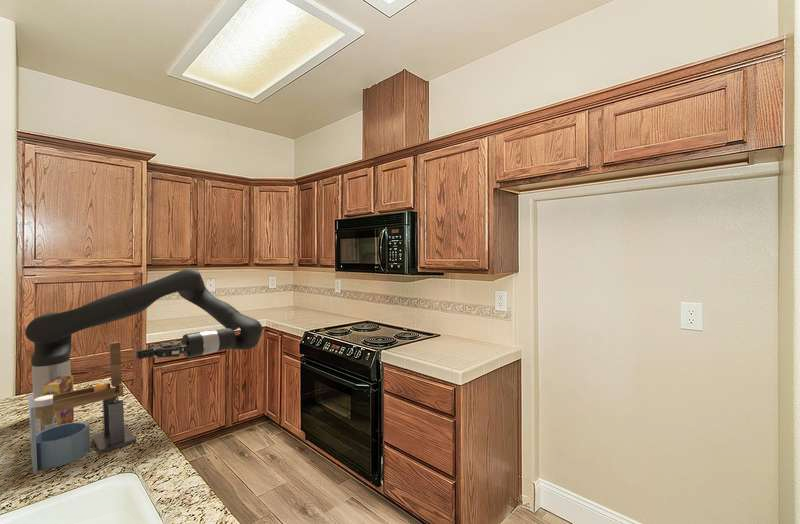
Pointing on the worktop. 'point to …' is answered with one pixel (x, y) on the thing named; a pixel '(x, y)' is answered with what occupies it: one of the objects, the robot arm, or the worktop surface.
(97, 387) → the ball
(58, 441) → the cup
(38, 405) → the sprinkles bottle
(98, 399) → the lever
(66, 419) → the candy box
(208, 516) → the worktop surface
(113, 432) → the lever stand
